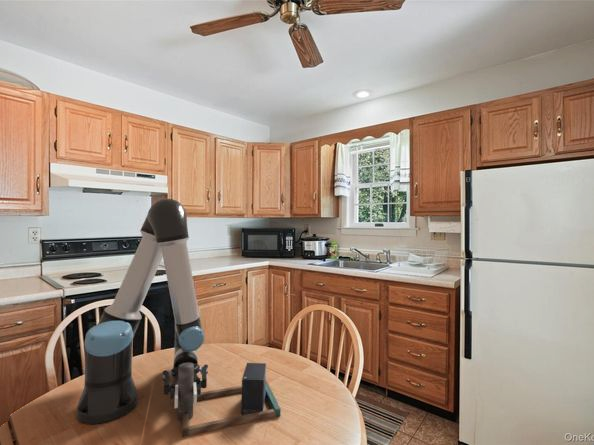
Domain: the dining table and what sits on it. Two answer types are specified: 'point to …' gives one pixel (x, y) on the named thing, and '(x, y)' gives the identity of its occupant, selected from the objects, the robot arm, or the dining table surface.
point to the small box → (253, 388)
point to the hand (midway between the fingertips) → (185, 401)
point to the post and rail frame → (187, 397)
